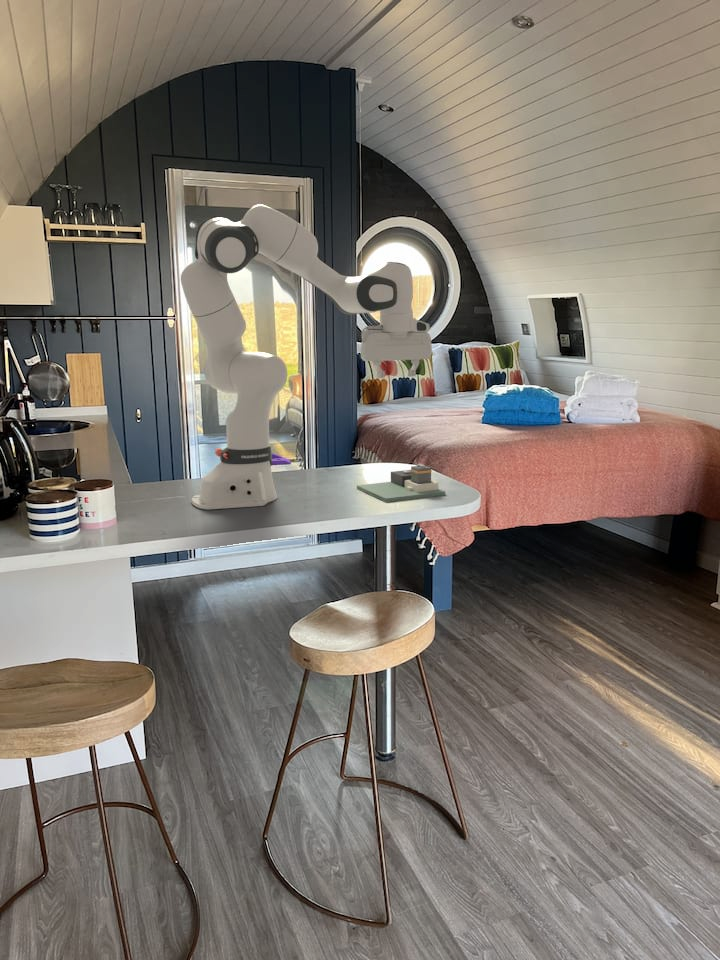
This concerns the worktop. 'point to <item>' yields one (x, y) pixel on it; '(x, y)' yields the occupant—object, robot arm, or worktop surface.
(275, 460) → the purple shoe
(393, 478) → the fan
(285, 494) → the worktop surface
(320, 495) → the worktop surface
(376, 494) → the board
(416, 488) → the cream shallow tray
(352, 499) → the worktop surface
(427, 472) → the grey upright block
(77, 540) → the worktop surface
